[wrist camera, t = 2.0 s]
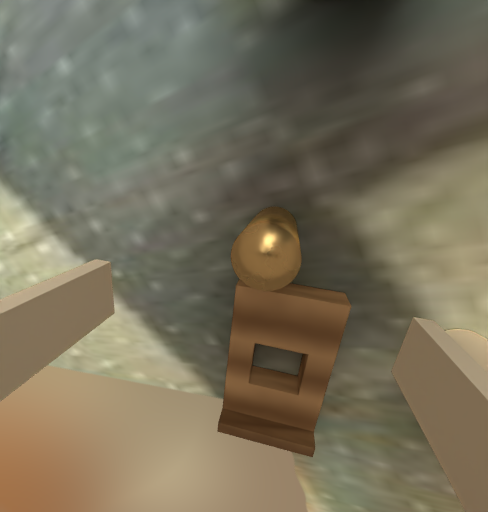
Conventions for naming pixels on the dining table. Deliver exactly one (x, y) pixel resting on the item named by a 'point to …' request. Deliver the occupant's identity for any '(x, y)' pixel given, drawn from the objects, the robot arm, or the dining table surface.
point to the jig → (277, 383)
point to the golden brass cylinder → (268, 250)
